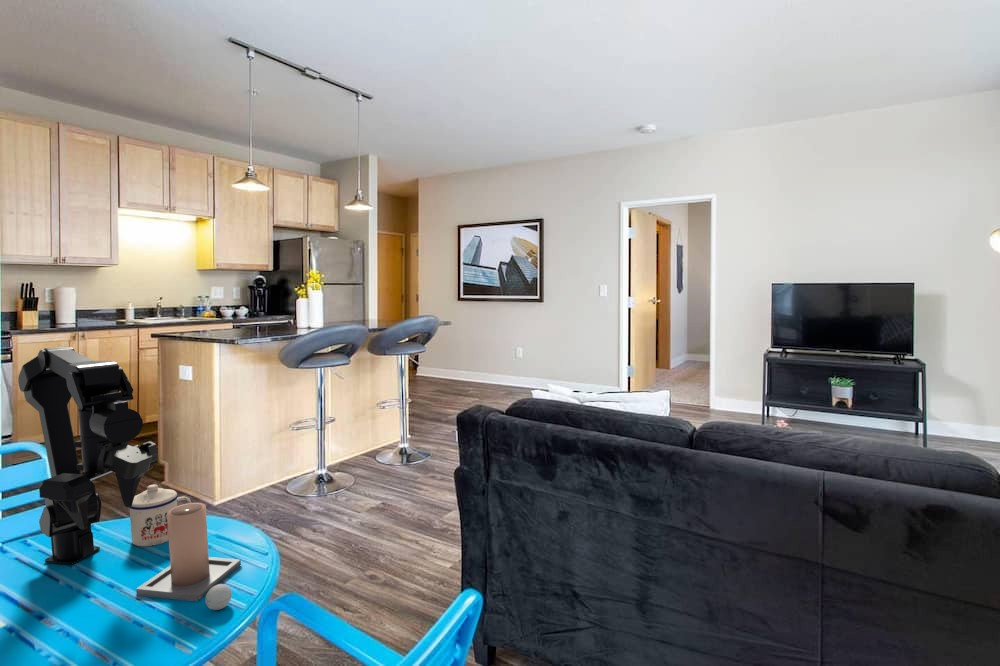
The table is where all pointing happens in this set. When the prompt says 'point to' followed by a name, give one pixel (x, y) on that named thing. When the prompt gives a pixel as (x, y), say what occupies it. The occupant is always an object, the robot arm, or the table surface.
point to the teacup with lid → (152, 515)
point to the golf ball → (218, 597)
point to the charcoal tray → (165, 588)
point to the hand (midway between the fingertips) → (106, 517)
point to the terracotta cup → (188, 544)
